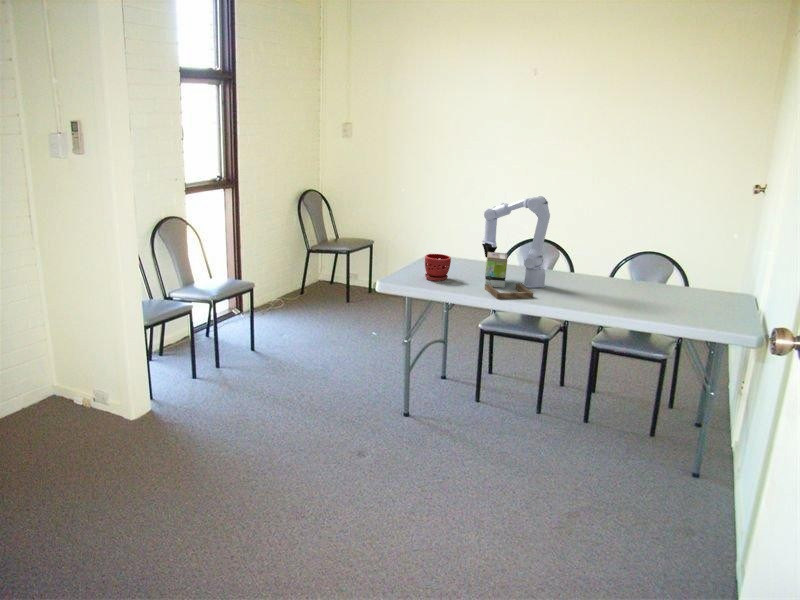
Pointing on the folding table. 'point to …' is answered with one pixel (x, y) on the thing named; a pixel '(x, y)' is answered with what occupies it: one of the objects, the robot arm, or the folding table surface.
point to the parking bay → (522, 294)
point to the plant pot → (437, 266)
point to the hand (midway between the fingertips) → (488, 258)
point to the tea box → (496, 269)
